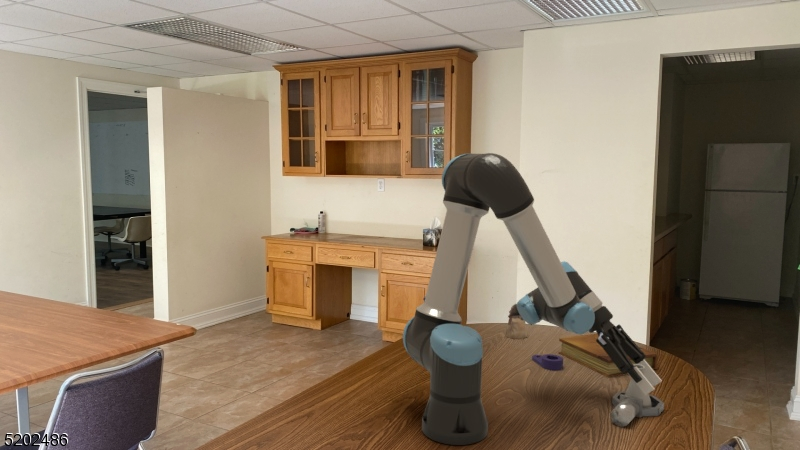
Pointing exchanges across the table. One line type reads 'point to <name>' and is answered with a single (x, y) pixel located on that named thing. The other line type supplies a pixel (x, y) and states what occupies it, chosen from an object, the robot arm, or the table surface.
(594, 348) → the diary
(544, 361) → the lever
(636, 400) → the octagonal metal scoop
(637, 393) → the flask
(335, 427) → the table surface
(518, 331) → the figurine
